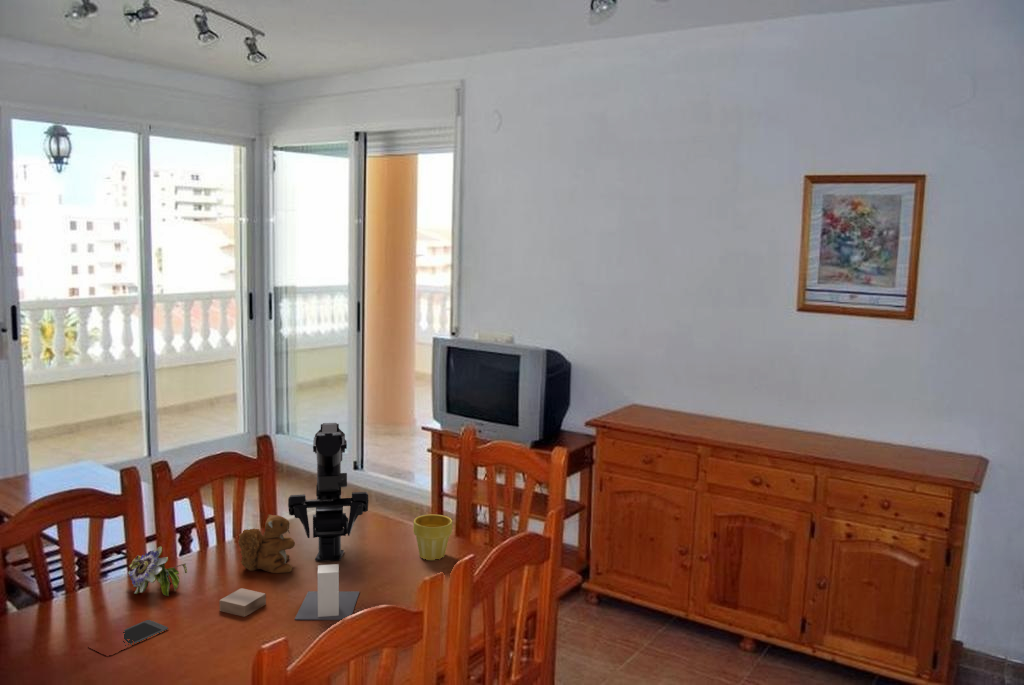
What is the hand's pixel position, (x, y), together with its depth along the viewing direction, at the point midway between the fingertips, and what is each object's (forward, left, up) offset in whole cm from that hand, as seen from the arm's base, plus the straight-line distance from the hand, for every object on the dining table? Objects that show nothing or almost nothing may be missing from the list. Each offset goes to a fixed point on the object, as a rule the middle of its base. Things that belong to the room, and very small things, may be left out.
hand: (328, 536), depth 186 cm
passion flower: (-1, -41, -14) cm, 43 cm away
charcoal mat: (+8, +1, -14) cm, 16 cm away
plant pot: (-22, +23, -14) cm, 35 cm away
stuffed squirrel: (-15, -18, -14) cm, 27 cm away
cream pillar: (+11, +2, -13) cm, 17 cm away
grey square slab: (+9, -18, -14) cm, 24 cm away
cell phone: (+23, -37, -14) cm, 45 cm away
